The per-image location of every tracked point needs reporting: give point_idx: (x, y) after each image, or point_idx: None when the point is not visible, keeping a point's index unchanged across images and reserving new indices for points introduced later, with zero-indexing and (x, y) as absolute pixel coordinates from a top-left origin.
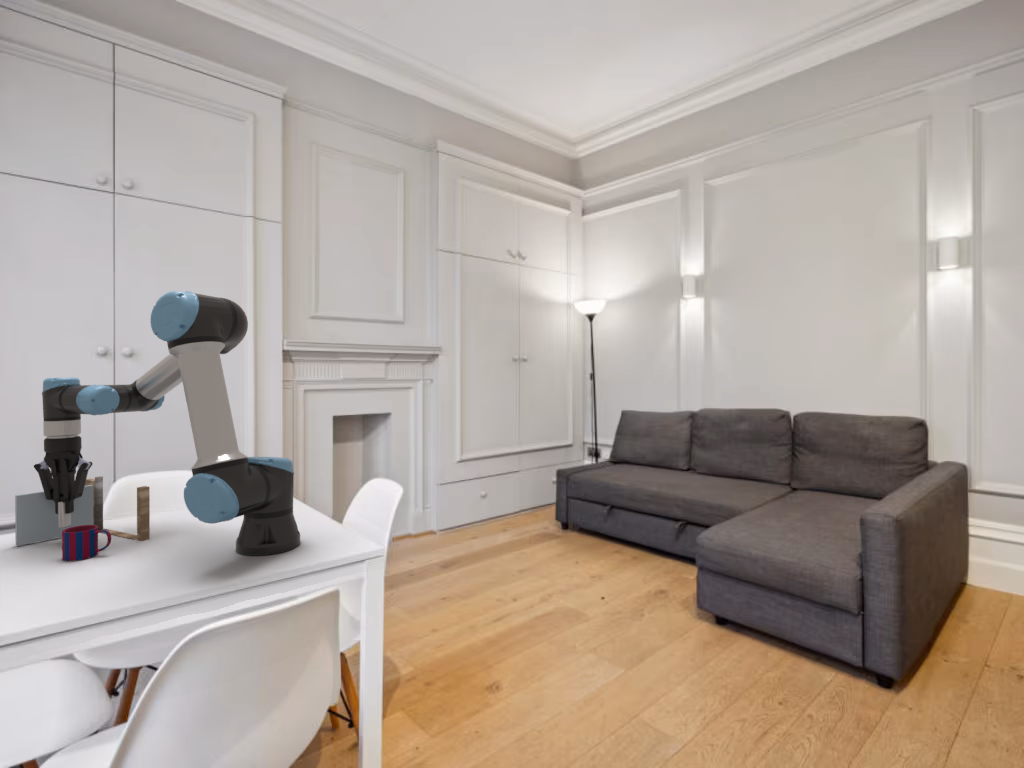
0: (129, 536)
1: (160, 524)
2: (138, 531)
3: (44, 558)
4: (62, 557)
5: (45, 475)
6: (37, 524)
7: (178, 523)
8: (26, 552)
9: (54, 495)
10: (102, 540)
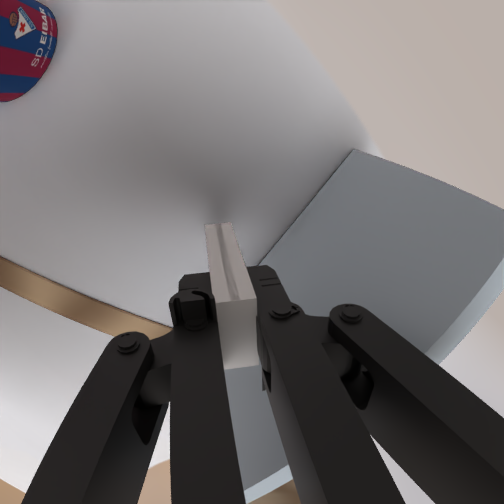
0: (16, 276)
1: (59, 393)
2: None
3: (124, 7)
4: (42, 4)
5: (488, 480)
6: (343, 225)
7: (25, 395)
8: (261, 73)
9: (306, 336)
10: (73, 237)
